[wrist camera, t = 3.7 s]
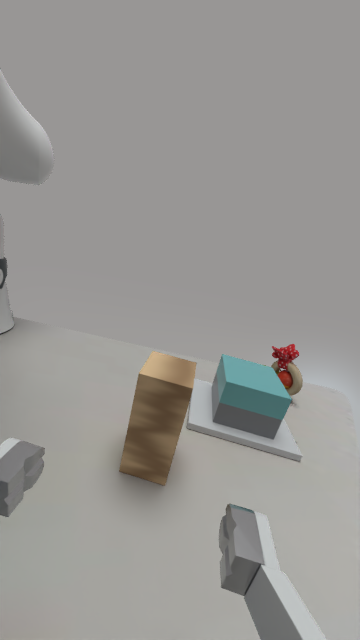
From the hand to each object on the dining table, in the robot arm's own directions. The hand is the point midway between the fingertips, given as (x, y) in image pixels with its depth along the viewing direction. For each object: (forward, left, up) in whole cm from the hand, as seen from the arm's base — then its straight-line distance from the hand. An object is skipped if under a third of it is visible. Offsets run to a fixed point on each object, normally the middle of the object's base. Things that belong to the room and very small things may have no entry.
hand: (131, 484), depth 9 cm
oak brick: (0, +12, -13) cm, 18 cm away
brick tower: (+12, +24, -13) cm, 30 cm away
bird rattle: (+22, +36, -13) cm, 44 cm away
